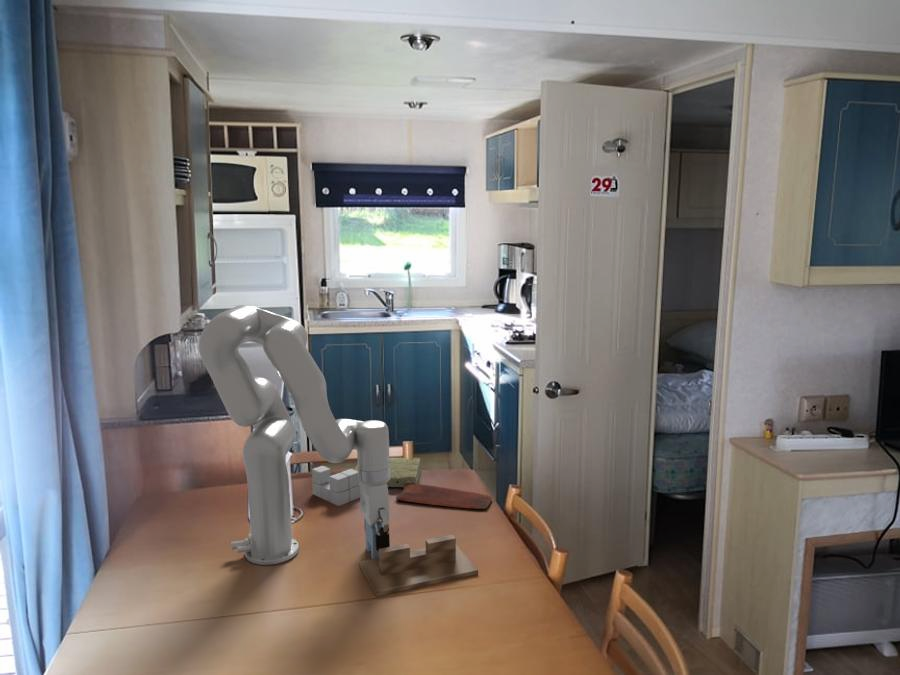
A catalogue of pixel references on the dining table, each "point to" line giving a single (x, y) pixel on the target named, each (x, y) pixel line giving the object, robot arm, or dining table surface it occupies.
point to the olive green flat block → (403, 471)
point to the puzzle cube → (335, 485)
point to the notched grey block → (371, 539)
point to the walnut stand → (417, 566)
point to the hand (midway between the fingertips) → (377, 540)
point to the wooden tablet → (443, 496)
